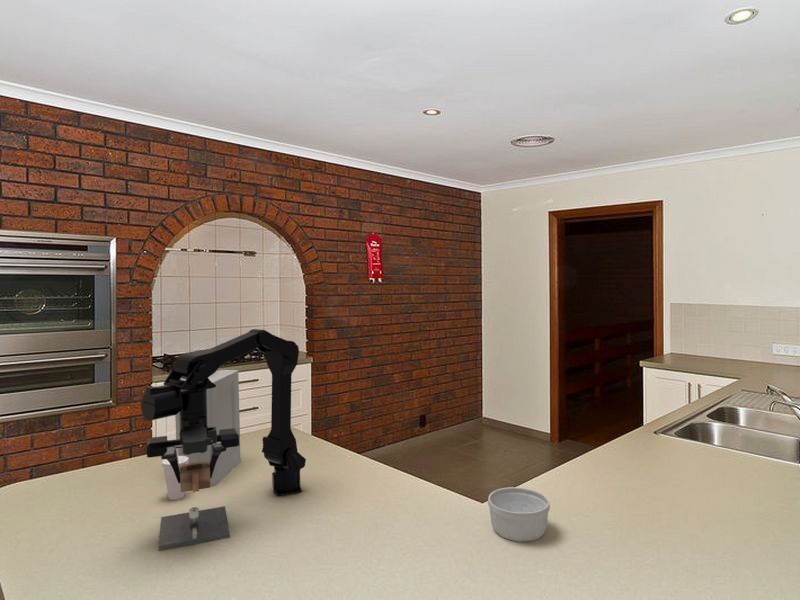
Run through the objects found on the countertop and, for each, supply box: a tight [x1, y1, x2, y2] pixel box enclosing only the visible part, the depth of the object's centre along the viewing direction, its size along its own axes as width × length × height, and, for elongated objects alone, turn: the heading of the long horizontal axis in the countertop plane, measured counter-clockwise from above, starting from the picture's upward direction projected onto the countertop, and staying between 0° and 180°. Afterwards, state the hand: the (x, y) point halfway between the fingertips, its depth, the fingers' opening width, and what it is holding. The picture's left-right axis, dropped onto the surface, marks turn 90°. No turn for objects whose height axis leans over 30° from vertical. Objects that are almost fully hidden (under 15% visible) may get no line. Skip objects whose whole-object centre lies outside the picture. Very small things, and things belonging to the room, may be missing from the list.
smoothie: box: [161, 448, 189, 501], centre depth 133 cm, size 6×6×14 cm
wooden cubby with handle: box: [180, 461, 211, 493], centre depth 115 cm, size 6×7×4 cm
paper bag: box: [174, 369, 241, 488], centre depth 149 cm, size 19×15×28 cm
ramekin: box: [487, 486, 551, 543], centre depth 114 cm, size 13×13×7 cm
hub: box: [157, 505, 231, 552], centre depth 116 cm, size 14×14×4 cm
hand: (194, 480), depth 115 cm, fingers closed on wooden cubby with handle, 6 cm apart
